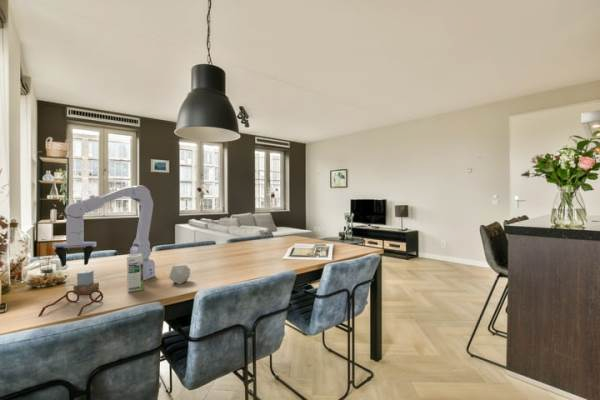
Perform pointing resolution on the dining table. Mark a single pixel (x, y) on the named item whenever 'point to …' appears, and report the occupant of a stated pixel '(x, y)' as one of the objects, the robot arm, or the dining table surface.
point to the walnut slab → (86, 287)
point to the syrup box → (134, 272)
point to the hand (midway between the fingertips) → (75, 264)
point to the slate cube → (85, 278)
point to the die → (179, 273)
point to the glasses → (76, 300)
